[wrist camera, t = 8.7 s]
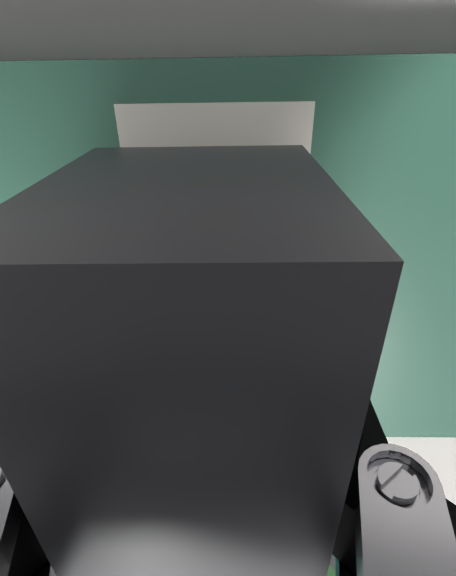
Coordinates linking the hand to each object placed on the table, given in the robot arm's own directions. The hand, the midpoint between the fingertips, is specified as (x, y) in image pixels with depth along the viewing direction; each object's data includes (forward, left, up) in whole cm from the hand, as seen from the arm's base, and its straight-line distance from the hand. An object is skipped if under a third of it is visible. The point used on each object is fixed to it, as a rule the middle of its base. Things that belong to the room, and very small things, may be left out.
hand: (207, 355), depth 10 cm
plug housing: (0, +2, -1) cm, 2 cm away
